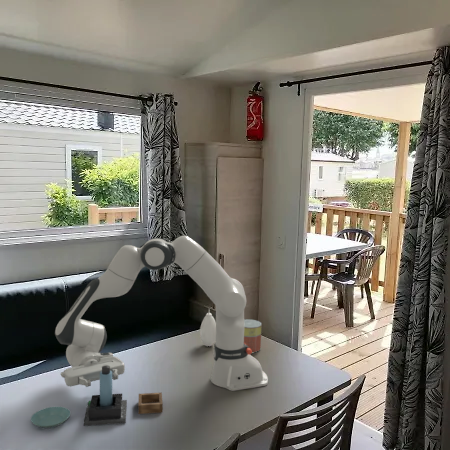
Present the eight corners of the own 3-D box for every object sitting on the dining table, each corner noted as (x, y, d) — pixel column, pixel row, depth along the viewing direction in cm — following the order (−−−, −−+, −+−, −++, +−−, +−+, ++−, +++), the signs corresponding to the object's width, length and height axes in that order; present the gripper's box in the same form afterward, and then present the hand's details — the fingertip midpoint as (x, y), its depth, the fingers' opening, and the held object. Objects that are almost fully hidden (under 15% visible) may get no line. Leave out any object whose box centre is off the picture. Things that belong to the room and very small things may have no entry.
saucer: (23, 423, 146) (23, 416, 146) (57, 408, 155) (57, 402, 155) (44, 437, 139) (43, 430, 139) (77, 421, 148) (77, 414, 148)
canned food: (242, 342, 219) (243, 317, 218) (264, 346, 214) (265, 321, 213) (232, 350, 209) (232, 324, 208) (254, 355, 204) (255, 329, 203)
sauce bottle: (210, 350, 208) (211, 311, 206) (196, 346, 212) (197, 308, 210) (219, 345, 214) (220, 307, 212) (206, 341, 219) (207, 304, 216)
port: (126, 404, 159) (126, 391, 158) (125, 423, 147) (125, 409, 147) (87, 406, 157) (87, 394, 156) (83, 425, 145) (83, 412, 144)
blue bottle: (112, 406, 154) (112, 364, 152) (111, 413, 150) (111, 369, 148) (100, 407, 153) (100, 364, 152) (99, 413, 150) (98, 370, 148)
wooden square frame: (161, 400, 162) (161, 392, 162) (162, 412, 154) (162, 403, 154) (138, 401, 161) (138, 393, 160) (138, 414, 153) (138, 405, 153)
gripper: (58, 363, 158) (71, 379, 146) (115, 351, 169) (131, 365, 158) (59, 381, 158) (71, 398, 147) (115, 367, 170) (130, 382, 159)
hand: (102, 380), depth 153 cm, fingers open, 8 cm apart
